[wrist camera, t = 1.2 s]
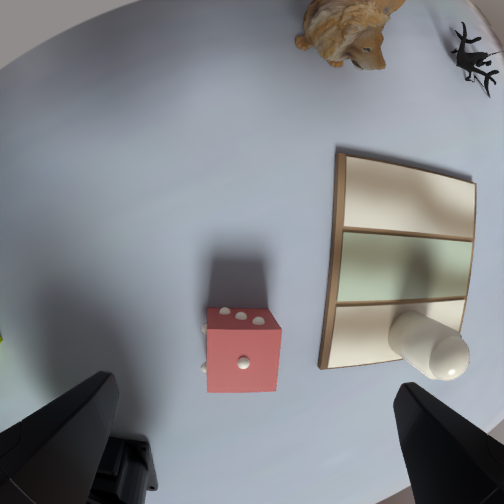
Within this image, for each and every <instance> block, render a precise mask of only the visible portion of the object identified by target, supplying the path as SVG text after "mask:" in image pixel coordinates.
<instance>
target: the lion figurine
mask: <svg viewBox="0 0 504 504" xmlns="http://www.w3.org/2000/svg"><path fill="white" fill-rule="evenodd" d="M404 2H405V0H313V1H312V2H311V4H310V6H309V7H308V8H307V11H306V13H305V16H304V23H303V29H304V30H305V34H304V35H303V36H298V37H296V39H295V44H296V46H297V47H298V48H299V49H302V50H307V49H309V48H310V47H311V46H313V45H314V47H315V49H317V50H318V53H319V55H320V56H322V57H323V58H324V59H325V60H326V59H327V61H328V63H329V64H330V65H331V66H334V67H342V66H343V60H345V59H348V58H350V59H351V61H352V63H353V64H354V66H355V68H356V69H358V70H363V69H365V70H374V69H378V70H380V69H384V68H385V66H386V63H385V61H384V58H383V56H382V52H381V48H380V46H381V44H382V42H383V40H384V38H383V35H382V33H381V31H382V30H383V28H384V25H385V24H386V22H387V21H388V20H389V19H390V17H389V15H390V14H391V13H392V12H395V11H396V10H397V9H399V8H400V7H401V6H402V5H403V4H404Z"/></svg>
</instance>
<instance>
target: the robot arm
mask: <svg viewBox="0 0 504 504" xmlns="http://www.w3.org/2000/svg"><path fill="white" fill-rule="evenodd" d="M118 397H119V391H118V387H117V384H116V380H115V377H114V375H113V373H111V372H107V371H99V372H97V373H96V374H94V375H93V376H91V377H89V378H88V379H86V380H85V381H83V382H82V383H80V384H78V385H77V386H75V387H74V388H72V389H71V390H69V391H67V392H66V393H64V394H63V395H61V396H60V397H58V398H56V399H55V400H53V401H52V402H50V403H48V404H47V405H45V406H44V407H42V408H41V409H39V410H37V411H36V412H34V413H33V414H31V415H29V416H28V417H26V418H25V419H23V420H22V422H21V421H20V422H18V423H16V424H15V425H13V426H11V427H10V428H8V429H6V430H5V431H3V432H1V433H0V504H145V497H146V490H149V491H156V490H157V489H158V484H157V479H156V475H155V470H154V465H153V460H152V455H151V450H150V446H149V444H148V443H146V442H142V441H133V440H126V439H118V438H112V437H109V434H110V430H111V426H112V422H113V417H114V413H115V409H116V405H117V401H118ZM393 408H394V413H395V419H396V424H397V430H398V436H399V441H400V446H401V450H402V453H403V457H404V461H405V464H406V468H407V472H408V475H409V479H410V483H411V487H412V491H413V495H414V499H415V504H504V445H503V444H501V443H500V442H498V441H497V440H495V439H494V438H492V437H491V436H489V435H487V433H485V432H484V431H482V430H481V429H480V428H478V427H477V426H475V425H474V424H472V423H471V422H470V421H468V420H467V419H465V418H464V417H462V416H461V415H460V414H458V413H457V412H455V411H454V410H453V409H451V408H450V407H448V406H447V405H446V404H444V403H443V402H441V401H440V400H438V399H437V398H436V397H434V396H433V395H431V394H430V393H429V392H427V391H426V390H424V389H423V388H422V387H420V386H419V385H417V384H416V383H414V382H409V383H403V384H402V385H401V386H400V388H399V391H398V393H397V395H396V397H395V399H394V403H393ZM143 447H145V448H143Z"/></svg>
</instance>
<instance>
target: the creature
mask: <svg viewBox="0 0 504 504" xmlns="http://www.w3.org/2000/svg"><path fill="white" fill-rule="evenodd" d="M461 23H462V24H463V36H461V35H460V34H459V33H458V32H457V31H456V30H455V32H456V33H457V35H458V37H459V38H460V39H461V44H460V47H459V50H456V49H455V50H454V51H452V52H451V53H456V52H457V65H456V66H458V67H461V68H463V69H465V70H467V71H468V72H469V76H468V77H467V78H466V79H465V80H466V81H472V80H469V78H471V72H472V71H473V72H476V73H479V74H482V75H484V76H485V80H484V86H483V85H482V86H483V87H485V89H486V91H487V93H488V95H489V97H490V94H489V91H488V83H489V79H490V80H491V81H493V82H494V85H496V82H495V80H494V79H493V78H492V77H491V75H493V74H498V73H499V71H498V70H493V71H491V72H489V73H485V72H483V71H481V70H479V69H477V68H475V67H474V65H475V63H476V66H477V67H480V66H482V65H484V64H486V66H489V65H491V63H492V62H491V60H490V61H487V62H483V60H484V59H486V58H487V57H488V55H489V56H490V55H491V54H487V52H486V53H484V52H475V53H465V51H464V46H465V43H469V44H471V43H474V42H476V41H479V40H481V37H476V38H475V39H473V40H468V39H466V37H467V32H466V26H465V24H464V22H461ZM500 52H502V51H500ZM496 53H498V52H496ZM496 53H492V55H493V54H496ZM475 78H476V79H477V77H476V76H475V75H474V81H475ZM477 80H478V79H477ZM478 81H479V80H478ZM472 82H473V81H472ZM479 82H480V81H479ZM480 83H481V82H480Z"/></svg>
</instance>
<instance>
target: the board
mask: <svg viewBox="0 0 504 504" xmlns="http://www.w3.org/2000/svg"><path fill="white" fill-rule="evenodd" d="M475 224H476V183H473V182H470V181H467V180H463V179H459V178H456V177H452V176H448V175H444V174H440V173H436V172H432V171H428V170H424V169H420V168H415V167H411V166H406V165H402V164H397V163H392V162H387V161H382V160H377V159H372V158H366V157H360V156H355V155H349V154H342V153H337V154H335V181H334V205H333V223H332V238H331V252H330V264H329V275H328V286H327V296H326V305H325V314H324V322H323V330H322V338H321V346H320V353H319V360H318V367H319V369H320V370H323V369H334V368H344V367H353V366H361V365H369V364H377V363H384V362H390V361H397V360H403V358H402V357H400V356H399V355H398V354H396V353H395V352H394V351H392V350H391V348H390V346H389V343H388V334H389V330H390V328H391V326H392V324H393V322H394V321H395V319H396V318H397V317H398V316H399V315H401V314H402V313H404V312H406V311H409V310H414V311H417V312H419V313H421V314H423V315H426V316H428V317H430V318H432V319H434V320H436V321H438V322H440V323H442V324H444V325H446V326H448V327H450V328H452V329H454V330H456V331H458V332H459V333H460V331H461V326H462V322H463V317H464V312H465V307H466V301H467V295H468V289H469V283H470V276H471V268H472V260H473V250H474V239H475Z"/></svg>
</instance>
